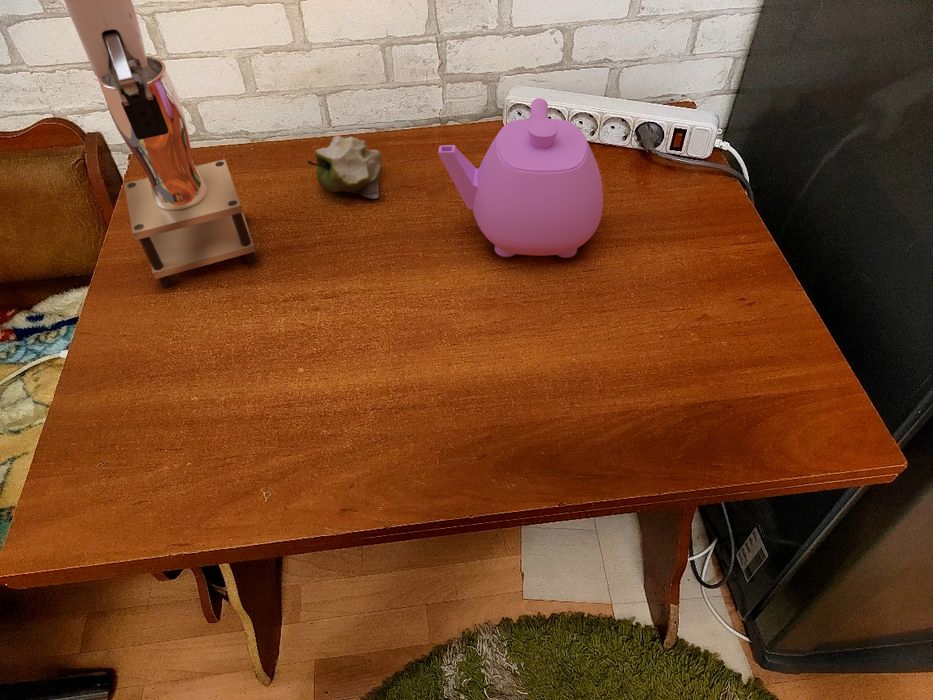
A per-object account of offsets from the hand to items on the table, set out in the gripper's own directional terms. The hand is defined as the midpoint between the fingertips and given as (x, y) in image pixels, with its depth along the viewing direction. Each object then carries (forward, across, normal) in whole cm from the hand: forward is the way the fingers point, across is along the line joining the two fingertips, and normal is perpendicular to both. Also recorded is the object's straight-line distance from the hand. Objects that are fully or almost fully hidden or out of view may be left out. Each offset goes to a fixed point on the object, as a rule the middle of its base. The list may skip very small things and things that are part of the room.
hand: (148, 115), depth 72 cm
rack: (+19, 0, 0) cm, 19 cm away
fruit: (+19, -6, +21) cm, 29 cm away
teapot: (+19, +11, +39) cm, 45 cm away
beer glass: (+10, 0, 0) cm, 10 cm away
